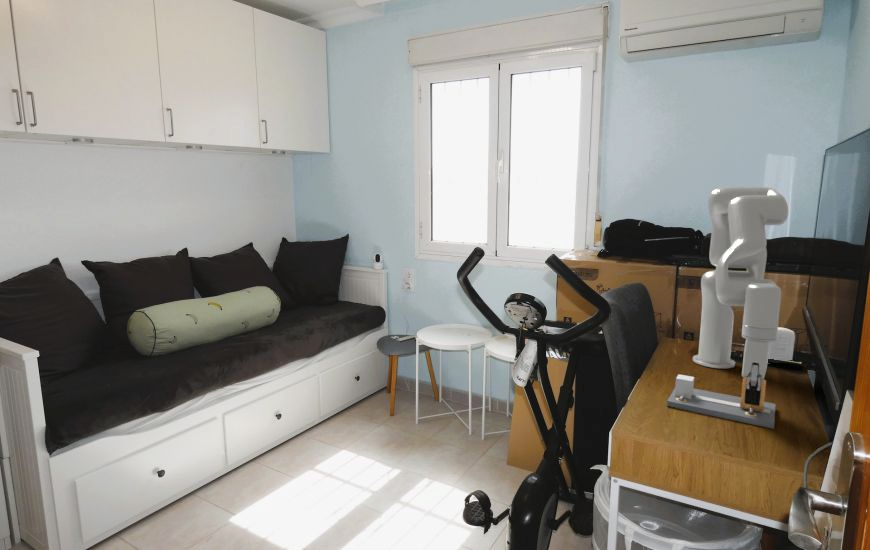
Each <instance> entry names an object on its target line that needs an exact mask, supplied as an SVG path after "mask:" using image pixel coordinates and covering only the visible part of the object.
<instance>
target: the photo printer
mask: <svg viewBox="0 0 870 550" xmlns="http://www.w3.org/2000/svg"><path fill="white" fill-rule="evenodd" d="M795 340H796V333H795V331H793V330H791V329H789V328H786V327H779V326H778V330H777V340H776V341H774V342H770V350H769V358H768V359H774V360H792V361H793V356H794V347H795Z"/></svg>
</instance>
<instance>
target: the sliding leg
mask: <svg viewBox="0 0 870 550" xmlns="http://www.w3.org/2000/svg"><path fill="white" fill-rule="evenodd" d="M750 381H751V380H750ZM747 382H748V376H747V377H746V376H745V377H743V376H742V382H741V383H742V384H741V395H740V397H741V403H740V407H743V408H748V409H750V412H751V413H752V411H753V410H758V411H763V408H764V402H765V397H766V386H767V380H766V379H763V380H761V382H760V390H761V394H760V404H759V406H755V405H750V404H746V403H745V402H744V401H745V391H746V388H747ZM757 382H758V381H757ZM757 387H758V386H757Z"/></svg>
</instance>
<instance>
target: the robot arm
mask: <svg viewBox="0 0 870 550" xmlns="http://www.w3.org/2000/svg"><path fill="white" fill-rule="evenodd" d="M707 202H708V203H707V205H708V211H709V214H710V215H709V216H710V218H711V219H710V220H711V224H712V225H711V228H712V229H711V236H710V242H709V243H710V245H709V253H708V255H709V262H710V264H711V265H712V266H714V267H715V270H709V271H706V272H705V273H704V274H702V276H701V278H700V289H701V315H700V317H701V318H700V331H699V340H698V343H699V344H698V353H697V354H696V355H695V354H694V355H693V356H692V361H693V362H694V363H695V364H698V365H699V366H702V367H708V368H712V369H723V370H724V369H732V368H735V366H736V361H735V360H733V359H731V353H732V344H733V342H732V341H733V333H734V332H733V331H734V322H735V319H734V318H735V313H734V310H733V308H732V307H743V317H742V327H741V337H742V338H744V339H745V343H744V349H743V359H742V370H741V377H742V378H743V377H748V382H747V388H746V391H745V401H744V402H745V403H746V404H750V405H755V406H759V404H760V394H761V390H760V382H761V380H765V376H766V372H767V368H768V364H769V363H768V358H769V350H770V342H774V341H776V340H777V330H778V327H779V318H780V308H781V302H782V301H781V300H782V290H781V289H782V288H781V287H780V286H778V285H777V284H776V282H775V281H774V280H771V279H767V278H765V273H766V264H767V258H768V250H767V244H768V243H767V242H768V241H767V235H766V234H767V233H766V227H765V226H781V225H783V224H784V223H786V221H787V219H788V216H789V205H788V202H787V200H786V198H785V197H784V195H783V194H781V193H780V192H779V191H777V190H776V189H775V188H772V187H765V186H763V187H759V186H758V187H757V186H756V187H754V186H753V187H752V186H751V187H750V186H749V187H746V186H743V187H742V186H729V187H719V188H716V189H713V190H712V191H711V192H710V193H709V196H708V200H707ZM729 268H730V269H732V268H733V269H746V271H744V270H729ZM750 380H751V381H750ZM757 381H758V382H757ZM757 386H758V387H757Z"/></svg>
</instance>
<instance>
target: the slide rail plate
mask: <svg viewBox="0 0 870 550" xmlns="http://www.w3.org/2000/svg"><path fill="white" fill-rule="evenodd" d="M694 386H695V377H694V376H690V375H684V374H677V376H676V377H675V385H674V389H672V393H671V394H670V396H669V397H668V399H667V402H666V407H668V406H671V407H670V408H673V407H675V408H674V409H678V408H679V409H678V410H682V409H683V411H687V410H688V411H687V412H693V413H697V414H698V413H699V414H702V415H707V416H712V417H717V418H719V419H720V418H721V419H726V420H730V421H733V422H734V421H736V422H739V423H740V422H741V423H743V424H744V423H745V424H749V425H754V426H759V427H764V428H768V429H773V430H774V429H775V421H776V420H775V419H776V403H772V402H768V401H764V408H763V411H758V410H753V411H752V413H751V412H750V409H748V408H743V407H740V403H741V396H736V395H731V394H725V393H719V392H714V391H709V390H705V389H704V390H703V389H699V388H694Z"/></svg>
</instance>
